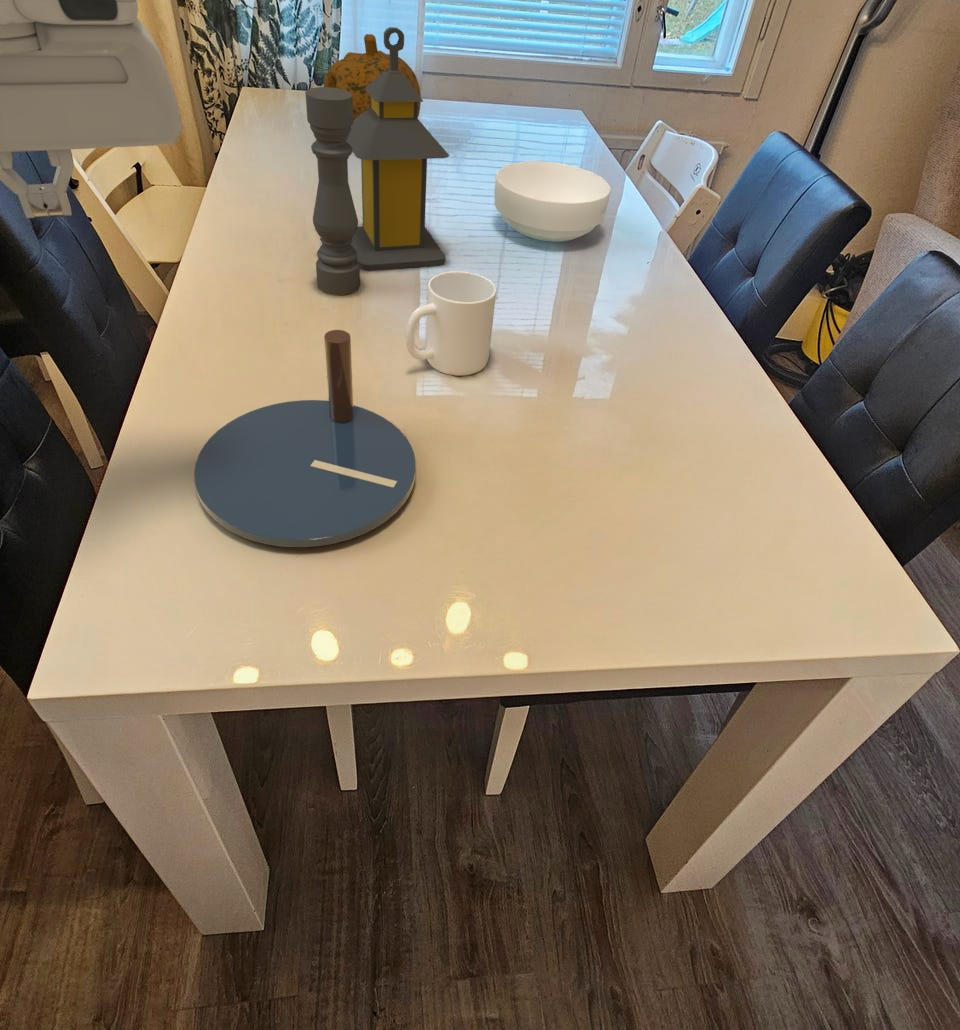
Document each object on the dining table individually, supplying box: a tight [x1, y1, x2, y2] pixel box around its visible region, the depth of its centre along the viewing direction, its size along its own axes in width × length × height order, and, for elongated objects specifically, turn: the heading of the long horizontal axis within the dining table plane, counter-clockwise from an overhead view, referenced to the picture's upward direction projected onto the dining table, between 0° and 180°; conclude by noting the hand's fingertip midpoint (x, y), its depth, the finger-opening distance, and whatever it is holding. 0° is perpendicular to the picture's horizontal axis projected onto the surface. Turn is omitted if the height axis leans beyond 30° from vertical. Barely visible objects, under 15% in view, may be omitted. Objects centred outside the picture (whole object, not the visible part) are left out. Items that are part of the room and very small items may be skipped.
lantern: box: [347, 26, 450, 272], centre depth 104 cm, size 14×14×30 cm
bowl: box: [493, 160, 612, 243], centre depth 122 cm, size 20×20×8 cm
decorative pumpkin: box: [323, 33, 422, 120], centre depth 145 cm, size 20×21×20 cm
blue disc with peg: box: [193, 329, 417, 548], centre depth 69 cm, size 22×22×11 cm
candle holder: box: [304, 86, 361, 296], centre depth 95 cm, size 6×6×25 cm
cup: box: [405, 270, 497, 377], centre depth 88 cm, size 8×12×10 cm
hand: (49, 214), depth 51 cm, fingers closed
